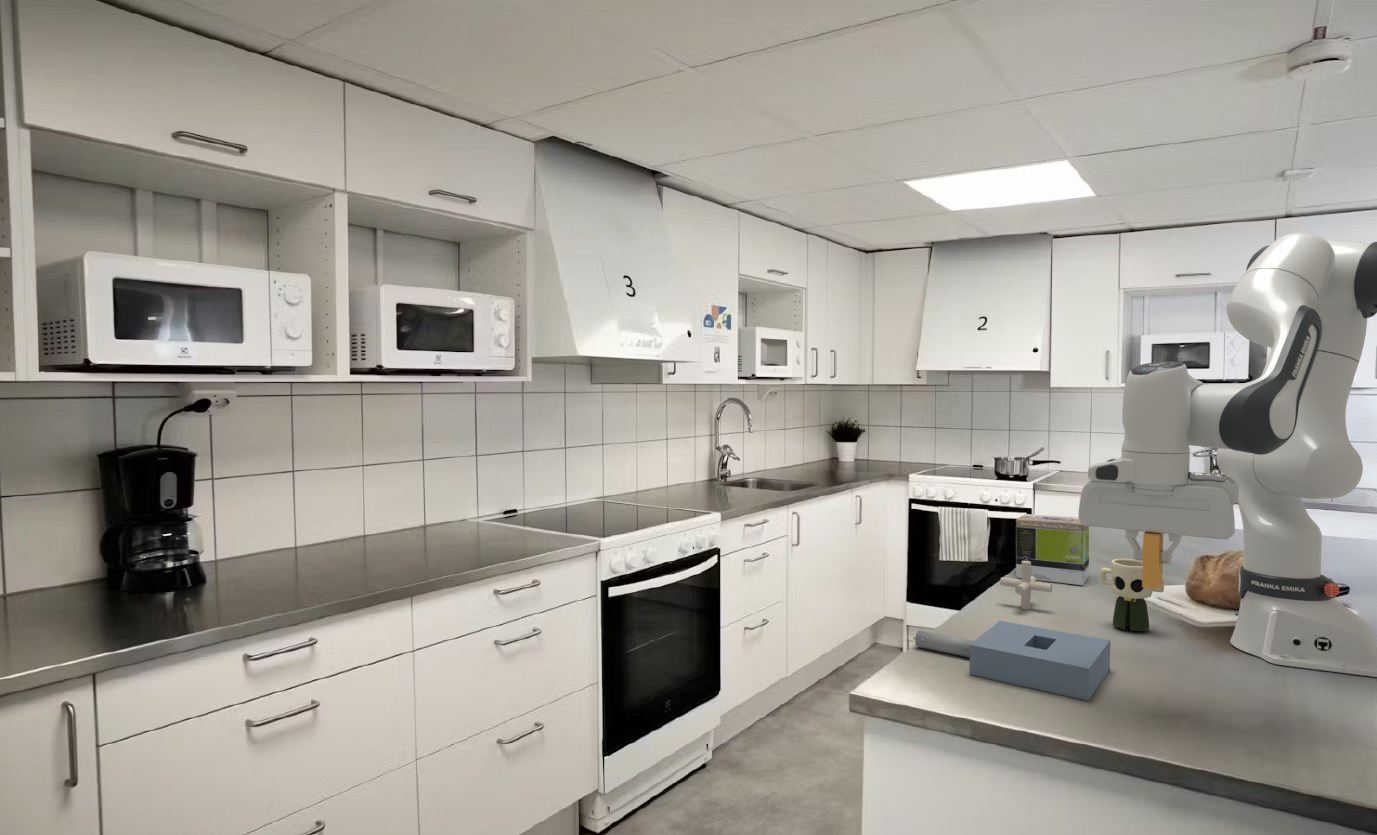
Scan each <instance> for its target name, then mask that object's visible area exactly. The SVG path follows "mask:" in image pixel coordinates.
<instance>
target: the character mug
mask: <svg viewBox="0 0 1377 835" xmlns="http://www.w3.org/2000/svg"><path fill="white" fill-rule="evenodd" d="M1110 566H1111V567H1110V568H1108V567H1102V568H1101V569H1100V584H1101V585H1106V586H1111V587H1110V589H1111V592H1112V594H1114V595H1117V598H1116V600H1115V603H1114V610H1113V611H1114V612H1113V618H1112V625H1113V626H1115V627H1116V628H1119V629H1122V630H1125V629H1126V626H1127V627H1129V630H1130V631H1134V632H1135V631H1136V632H1141V631H1142V632H1143V631H1147V630H1148V629H1149V628H1150V619H1149V618H1150V617H1149V612H1148V604H1147V601H1146V600H1145V599H1149V598H1150V597H1152V595H1153V593H1163V592H1164V591H1165V577H1164V575H1162V583H1161V585H1160V586H1159V588H1158V589H1152V588H1144V587H1142V570H1143V561H1139V560H1134V558H1114V559H1112V560H1111V565H1110ZM1107 574H1110V579H1107Z"/></svg>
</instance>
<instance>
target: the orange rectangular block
mask: <svg viewBox="0 0 1377 835" xmlns="http://www.w3.org/2000/svg"><path fill="white" fill-rule="evenodd" d="M1142 536H1143V537H1142V548H1143V570H1142V587H1144V588H1152V589H1158V588H1159V586H1160V585H1161V583H1162V576H1163V568H1164V566H1163V564H1164V563H1160V558H1161V557H1160V551H1161V550H1164V534H1163V533H1153V532H1144V533H1143V534H1142Z"/></svg>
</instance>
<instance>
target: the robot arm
mask: <svg viewBox="0 0 1377 835" xmlns="http://www.w3.org/2000/svg"><path fill="white" fill-rule="evenodd" d="M1376 314H1377V241H1373V242H1364V241H1363V242H1362V241H1352V240H1326V239H1324V238H1323V237H1321V236H1319V235H1317V234H1314V233H1308V232H1292V233H1289V234H1285V235H1282V236H1281V237H1279V238H1277V239H1276V240H1274V241H1273V242H1272V243H1271V244H1270V245H1265V246H1263V247H1261V248H1260V249H1259V250H1258V251H1256V252H1255V253H1254V254H1253V255H1252V256H1251V257H1250V259H1249V262H1248V263H1247V266H1246V270H1245V272H1244V274H1243V275H1242V277H1241V278H1240V279H1239V281H1238V282H1237V284H1236V285H1235V287H1234V288H1233V290H1232V291H1231V292H1230V295H1229V297H1228V300H1227V303H1226V316H1227V317H1228V320H1229V323H1230V324H1231V325H1232V327H1233V329H1234V330H1235V331H1236V332H1237V333H1238V334H1240V335H1241V336H1242V337H1244V338H1245V339H1246V340H1249V341H1250V342H1252V343H1254V344H1257V345H1260V346H1264V347H1267V348H1271V350H1270V353H1269V356H1268V358H1267V360H1266V363H1265V365H1264V368H1263V370H1262V373H1261V375H1260V376H1259V377H1258V378H1256V379H1254V380H1251V381H1248V382H1245V383H1236V384H1235V383H1222V384H1221V383H1203V382H1204V381H1202V380H1201V381H1200V380H1198V379H1196V378H1194V377H1193V376H1191V374H1189V372H1188V368H1187V365H1186V364H1185V363H1184V362H1180V361H1173V360H1172V361H1170V360H1168V361H1167V360H1166V361H1156V362H1149V363H1143V364H1139V365H1137V366H1134V367H1133V368H1132V369H1130V370H1129V371H1128V374H1127V377H1126V379H1125V380H1126V381H1125V385H1124V388H1123V397H1122V410H1121V411H1122V412H1121V413H1122V414H1121V415H1122V418H1121V421H1122V425H1123V429H1124V439H1123V441H1122V445H1121V454H1120V455H1121V456H1120V458H1111V459H1108V460H1106V461H1102V462H1097V463H1094V464H1092V465H1090V466H1089V467H1088V468H1087V477H1088V479H1089V481H1088V482H1086V483H1085V484H1084V485H1083V488H1082V490H1081V493H1080V497H1079V498H1080V499H1079V505H1078V516H1077V518H1079V520H1080V522H1081V523H1082V524H1083V525H1084V526H1089V527H1094V528H1103V529H1113V530H1114V529H1115V530H1124V531H1125V538H1126V540H1127V542H1128V543H1129V545H1130V547H1131V548H1132V549H1133V558H1132V559H1134V560H1139V561H1143V546H1142V547H1141V546H1140V544H1139V542H1138V540H1137V539H1136V538H1137V537H1138V536H1139V532H1142V533H1143V532H1144V533H1145V532H1153V533H1163V535H1164V534H1165V535H1167V534H1168V541H1169V542H1172V543H1171V545H1169V547H1168V549H1163V550H1161V551H1160V557H1161V558H1160V563H1163V564H1165V565H1166V564H1167V565H1172V564H1173V552H1174V551H1175V550H1176V549H1177V547H1178V546H1179V544H1180V543H1181V541H1182V537H1183V536H1185V537H1196V538H1204V539H1205V538H1206V539H1216V540H1225V541H1226V540H1229V539H1230V538H1231V537H1232V536H1234V535H1235V532H1236V520H1235V511H1234V505H1235V504H1237V505H1238V509H1239V512H1240V513H1239V514H1240V516H1241V522H1242V527H1243V528H1242V531H1243V532H1242V534H1243V536H1242V538H1243V539H1242V540H1243V542H1242V543H1243V548H1242V549H1243V552H1242V553H1243V554H1242V556H1243V560H1242V561H1243V562H1242V565H1241V567H1240V568H1239V571H1240V572H1239V573H1238V574H1239V575H1238V594H1239V597H1240V604H1239V610H1238V615H1237V619H1236V623H1235V627H1234V631H1233V633H1232V636H1231V638H1230V640H1229V641H1230V644H1231V645H1232V646H1233V647H1235V648H1236V649H1237V650H1241V651H1242V652H1245V653H1248V654H1251V655H1253V656H1256V657H1259V658H1261V659H1263V660H1264V661H1266V662H1269V663H1271V664H1273V665H1281V666H1287V667H1294V668H1303V669H1311V670H1319V671H1327V672H1333V673H1334V672H1335V673H1342V674H1348V675H1349V674H1350V675H1358V676H1367V677H1372V678H1373V677H1374V678H1377V639H1376V635H1375V632H1374V631H1373V629H1372V627H1371V626H1370V625H1369V623H1368V622H1367V621H1365V620H1364V619H1363V618H1362V617H1360V616H1359V615H1357V614H1356V613H1355V612H1353V611H1352V610H1350V608H1348V607H1347V606H1345V605H1344V604H1342V603H1341V602H1340V601H1338V600H1337V599H1336V598H1335V597H1337V595H1338V596H1339V595H1340V588H1339V585H1337V584H1336V582H1335V581H1334V580H1333V579H1332V578H1331V577H1329V578H1328V577H1327V576H1326V575H1323V574H1321V572H1322V541H1323V539H1322V538H1323V535H1322V531H1321V529H1320V526H1319V525H1318V524H1317V523H1316V522H1315V521H1314V520H1313V519H1312V518H1311V517H1310V515H1309V513H1308V511H1307V509H1306V506H1305V504H1304V502H1303V499H1306V500H1307V499H1308V500H1323V499H1325V500H1326V499H1336V498H1341V497H1343V496H1347V495H1348V494H1350V493H1351V492H1353V491H1354V490H1355V489H1356V487H1357V486H1358V485H1359V483H1360V482H1361V480H1362V479H1361V478H1362V476H1363V472H1364V471H1363V470H1364V468H1363V461H1362V458H1361V455H1360V454H1359V452H1358V451H1357V450H1356V449H1355V448H1354V446H1353V444H1352V443H1351V441H1350V439H1349V434H1348V431H1347V423H1346V422H1347V421H1346V420H1347V419H1346V417H1347V416H1346V415H1347V413H1346V412H1347V411H1346V410H1347V405H1348V401H1349V396H1350V392H1351V389H1352V386H1353V382H1354V380H1355V376H1356V373H1357V370H1358V367H1359V364H1360V360H1361V357H1362V354H1363V349H1364V345H1365V341H1366V335H1367V329H1368V328H1367V327H1368V326H1367V325H1368V319H1370V318H1371V317H1374V316H1375V315H1376ZM1192 446H1193V447H1201V448H1209V449H1217V453H1216V464H1217V467H1218V469H1219V471H1220V472H1221V473H1215V474H1213V473H1212V474H1211V473H1204V472H1193V471H1190V465H1191V464H1190V460H1191V458H1190V456H1191V454H1190V453H1191V449H1190V447H1192Z"/></svg>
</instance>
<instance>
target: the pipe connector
mask: <svg viewBox="0 0 1377 835" xmlns="http://www.w3.org/2000/svg"><path fill="white" fill-rule="evenodd" d="M999 580H1000V582H999V583H1000V586H1002V587H1004V586H1005V587H1010V588H1015V589H1014V592H1015V593H1016V594H1017V595H1019V596H1021V597H1020V609H1022V610H1025V611H1026V610H1027V611H1029V610H1031V599H1032V598H1031V596H1032V595H1031V591H1038V592H1044V593H1052V591H1053V584H1052V583H1046V582H1039V581H1038V580H1036V578H1035V577H1033V576H1031V562H1030V561H1022V570H1021V578H1010V577H1000V579H999Z"/></svg>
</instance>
